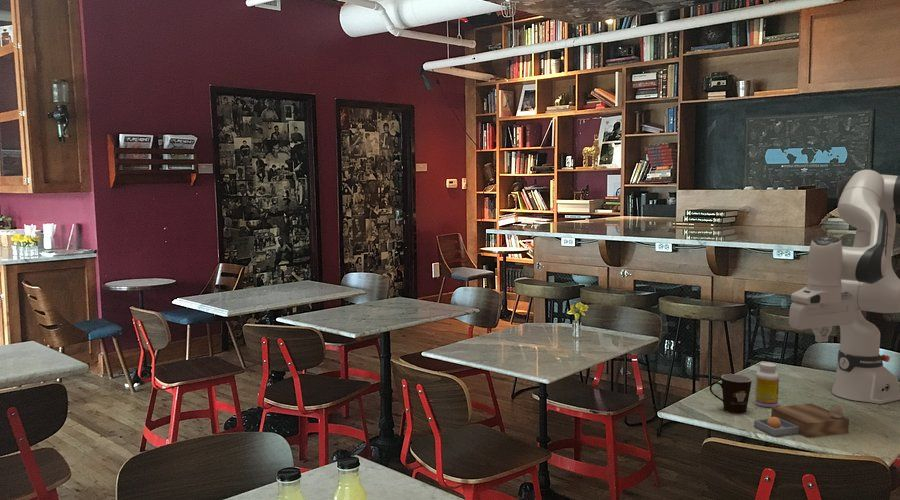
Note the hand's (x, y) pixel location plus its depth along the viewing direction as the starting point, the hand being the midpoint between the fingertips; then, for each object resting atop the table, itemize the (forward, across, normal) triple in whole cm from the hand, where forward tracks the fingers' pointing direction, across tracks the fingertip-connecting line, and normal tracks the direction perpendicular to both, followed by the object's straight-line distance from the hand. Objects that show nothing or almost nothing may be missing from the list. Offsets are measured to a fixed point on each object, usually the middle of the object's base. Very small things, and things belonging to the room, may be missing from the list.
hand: (821, 341), depth 209 cm
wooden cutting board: (+24, +6, +3) cm, 24 cm away
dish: (+23, +17, +3) cm, 29 cm away
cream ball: (+18, +2, +8) cm, 20 cm away
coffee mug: (+24, +18, -16) cm, 34 cm away
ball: (+21, +18, +3) cm, 28 cm away
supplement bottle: (+24, +4, -17) cm, 30 cm away
